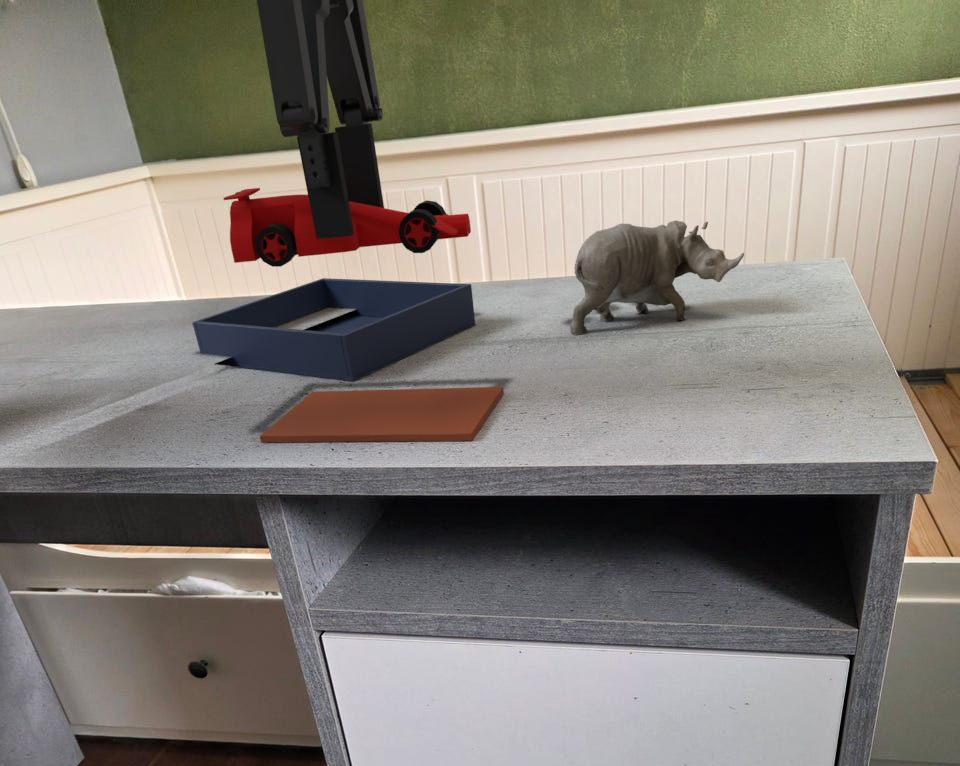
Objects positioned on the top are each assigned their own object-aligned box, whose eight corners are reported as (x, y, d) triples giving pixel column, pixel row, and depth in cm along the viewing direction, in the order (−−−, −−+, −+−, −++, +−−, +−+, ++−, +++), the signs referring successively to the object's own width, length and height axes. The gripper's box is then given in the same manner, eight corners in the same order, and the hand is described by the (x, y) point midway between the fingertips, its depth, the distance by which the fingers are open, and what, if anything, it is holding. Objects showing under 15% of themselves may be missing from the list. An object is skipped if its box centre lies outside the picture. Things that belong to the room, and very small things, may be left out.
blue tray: (202, 362, 95) (191, 322, 93) (330, 314, 108) (323, 278, 106) (353, 381, 83) (345, 335, 81) (475, 325, 97) (471, 283, 94)
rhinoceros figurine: (537, 296, 94) (619, 159, 86) (640, 357, 98) (727, 233, 90) (543, 320, 88) (632, 175, 80) (653, 385, 92) (747, 254, 84)
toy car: (465, 249, 64) (457, 172, 61) (235, 271, 67) (217, 198, 64) (474, 235, 69) (467, 163, 66) (260, 255, 71) (244, 187, 69)
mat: (260, 442, 72) (258, 435, 71) (313, 397, 80) (312, 391, 80) (472, 440, 67) (471, 433, 67) (503, 393, 76) (503, 386, 75)
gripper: (271, -228, 45) (353, 249, 58) (390, -163, 61) (434, 203, 73) (146, -200, 47) (251, 257, 60) (292, -144, 63) (351, 210, 75)
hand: (352, 227), depth 67 cm, fingers closed on toy car, 6 cm apart
